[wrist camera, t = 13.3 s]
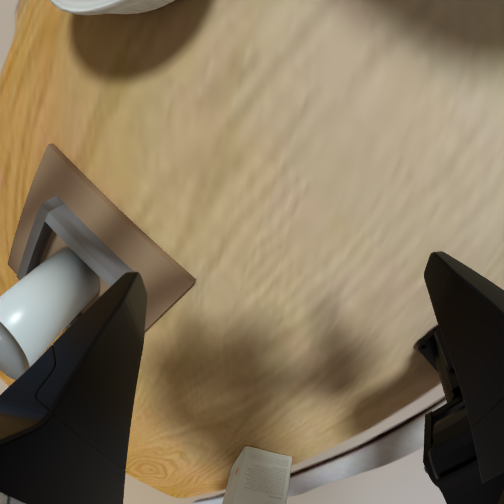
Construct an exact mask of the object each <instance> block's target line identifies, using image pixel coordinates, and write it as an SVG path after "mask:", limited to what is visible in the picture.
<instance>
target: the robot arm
mask: <svg viewBox="0 0 504 504" xmlns="http://www.w3.org/2000/svg"><path fill="white" fill-rule="evenodd" d="M424 279H425V283H426V286H427V289H428V292H429V295H430V299H431V302H432V306H433V309H434V312H435V316H436V319H437V322H438V324H439V328H437V329H436V330H434V331H433V332H431V333H430V334H428V335H427V336H425V337H424V338H423V339H421V340H420V341H419V342H418V343H417V346H418V349H419V351H420V352H421V353H422V354H423V355H424V356H425V358H426V359H427V360H428V361H429V362H430V363H431V365H432V366H433V367H434V368H435V369H436V370H437V372H438V373H439V376H440V380H441V383H442V386H443V390H444V393H445V397H446V400H447V403H446V404H445V405H443V406H442V407H440V408H438V409H437V410H435V411H433V412H432V411H431V412H429V413H428V414H426V415H425V430H424V455H423V463H424V465H425V471H426V473H428V475H429V477H430V479H431V480H432V482H433V483H434V484H435V485H436V486H437V487H439V489H440V490H441V492H442V494H443V496H444V498H445V500H446V503H447V504H504V290H503V289H501V288H500V287H498V286H497V285H495V284H494V283H492V282H491V281H489V280H488V279H486V278H485V277H483V276H481V275H480V274H478V273H477V272H475V271H474V270H472V269H471V268H469V267H467V266H466V265H464V264H463V263H461V262H459V261H458V260H456V259H454V258H453V257H451V256H450V255H448V254H446V253H445V252H442V251H440V252H433V253H431V254H430V257H429V260H428V263H427V265H426V268H425V271H424ZM146 309H147V291H146V288H145V285H144V283H143V280H142V277H141V274H140V273H139V272H137V271H136V272H126V273H125V274H123V275H122V276H121V277H120V278H119V279H118V280H117V281H116V282H115V283H114V284H113V285H112V286H111V287H110V288H109V289H108V290H106V291H105V292H104V293H103V294H102V295H101V296H100V297H99V298H98V299H97V300H96V301H95V302H94V303H93V304H92V305H91V306H90V307H89V308H88V309H87V310H86V311H85V312H84V313H83V314H82V315H81V316H80V317H79V318H78V319H77V320H76V321H75V322H74V323H73V324H72V325H71V326H70V327H69V328H68V329H67V330H66V331H65V332H64V333H63V334H62V335H61V336H60V337H59V338H58V339H57V340H56V341H55V342H54V343H53V345H51V346H50V347H49V348H48V349H47V351H46V352H45V353H44V354H43V355H42V356H41V357H40V358H39V359H38V360H37V361H36V362H35V363H34V364H33V365H32V366H31V367H30V368H29V369H28V370H26V371H25V372H24V373H23V374H22V375H21V376H20V377H19V378H18V379H17V380H16V381H15V382H14V383H13V384H12V385H10V386H9V387H8V388H7V389H6V390H5V391H4V392H3V393H2V394H1V395H0V504H123V497H124V484H125V472H126V471H125V469H126V461H127V451H128V442H129V434H130V426H131V419H132V412H133V405H134V398H135V391H136V385H137V379H138V373H139V367H140V362H141V356H142V351H143V344H144V334H145V321H146ZM423 344H425V345H423ZM422 345H423V346H422Z"/></svg>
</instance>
